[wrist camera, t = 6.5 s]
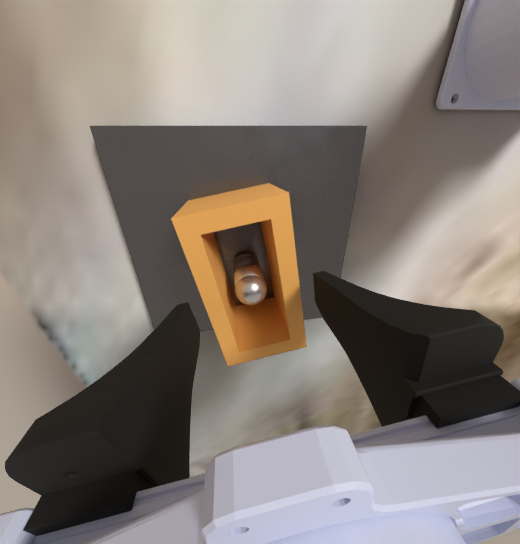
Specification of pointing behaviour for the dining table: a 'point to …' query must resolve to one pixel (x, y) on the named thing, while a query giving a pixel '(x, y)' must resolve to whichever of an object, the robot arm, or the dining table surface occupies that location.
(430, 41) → the dining table surface
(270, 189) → the orange hollow rectangular block
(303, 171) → the keeper plate
